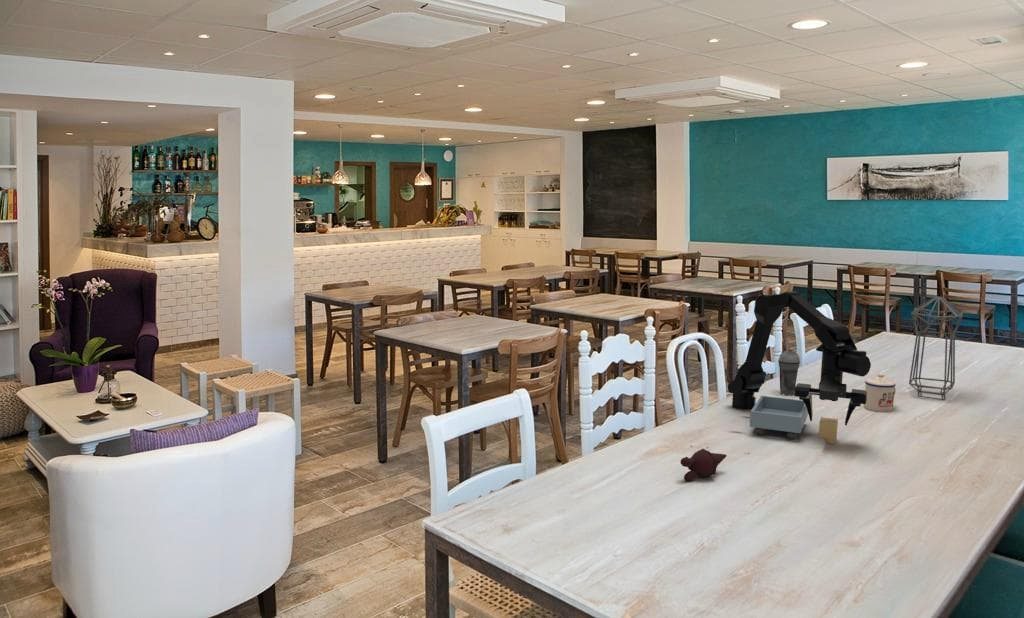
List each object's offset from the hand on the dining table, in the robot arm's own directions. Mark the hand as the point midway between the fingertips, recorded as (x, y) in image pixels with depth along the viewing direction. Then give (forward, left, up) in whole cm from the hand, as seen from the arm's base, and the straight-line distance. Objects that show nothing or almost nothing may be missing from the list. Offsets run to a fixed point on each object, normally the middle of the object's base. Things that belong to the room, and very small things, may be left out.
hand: (828, 422), depth 225 cm
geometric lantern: (+28, +70, -5) cm, 76 cm away
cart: (-13, 0, -4) cm, 14 cm away
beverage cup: (-17, +50, -5) cm, 53 cm away
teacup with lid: (+13, +45, -5) cm, 47 cm away
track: (-17, 0, -5) cm, 18 cm away
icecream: (-25, -45, -5) cm, 52 cm away
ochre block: (0, 0, -5) cm, 5 cm away
